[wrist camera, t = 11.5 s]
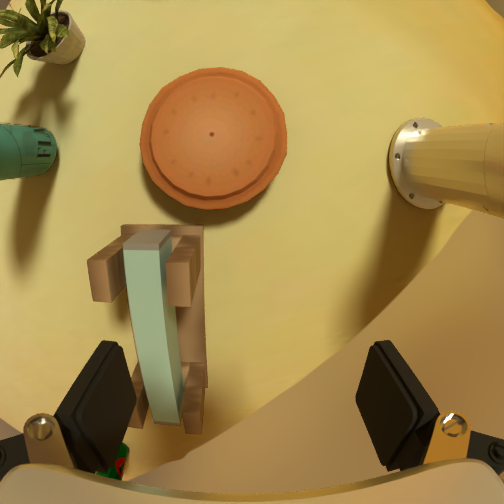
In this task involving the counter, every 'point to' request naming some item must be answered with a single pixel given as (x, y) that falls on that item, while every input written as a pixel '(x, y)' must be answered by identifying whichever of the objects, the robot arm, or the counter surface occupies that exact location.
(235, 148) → the pie
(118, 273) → the post stand
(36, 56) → the house plant
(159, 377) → the rail
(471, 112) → the counter surface
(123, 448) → the soda can
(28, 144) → the beverage bottle
